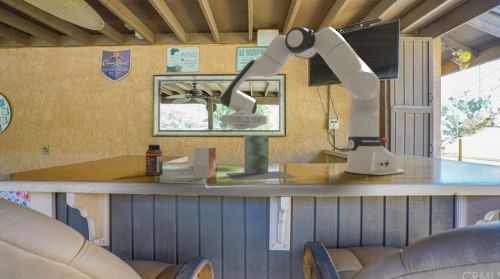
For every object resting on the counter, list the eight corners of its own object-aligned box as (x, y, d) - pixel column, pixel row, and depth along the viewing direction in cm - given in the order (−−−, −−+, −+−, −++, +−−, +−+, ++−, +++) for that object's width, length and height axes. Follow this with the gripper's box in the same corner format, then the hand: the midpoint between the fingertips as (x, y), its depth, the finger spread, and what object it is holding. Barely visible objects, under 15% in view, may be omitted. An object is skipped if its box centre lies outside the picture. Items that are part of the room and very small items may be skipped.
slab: (267, 172, 107) (267, 135, 106) (268, 173, 105) (268, 135, 105) (244, 173, 105) (244, 135, 104) (244, 173, 103) (245, 135, 103)
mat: (281, 172, 111) (281, 171, 111) (297, 179, 95) (297, 177, 95) (225, 174, 105) (225, 173, 105) (233, 182, 90) (233, 180, 90)
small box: (208, 179, 95) (208, 148, 95) (193, 178, 96) (193, 148, 96) (216, 175, 103) (216, 147, 102) (201, 175, 104) (201, 146, 104)
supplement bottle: (142, 175, 103) (141, 144, 102) (152, 173, 108) (152, 144, 108) (156, 176, 101) (155, 145, 101) (165, 174, 107) (165, 144, 106)
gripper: (218, 113, 128) (223, 110, 115) (261, 113, 133) (270, 112, 120) (218, 126, 128) (223, 126, 115) (261, 127, 133) (270, 126, 120)
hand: (247, 119), depth 117 cm, fingers closed
